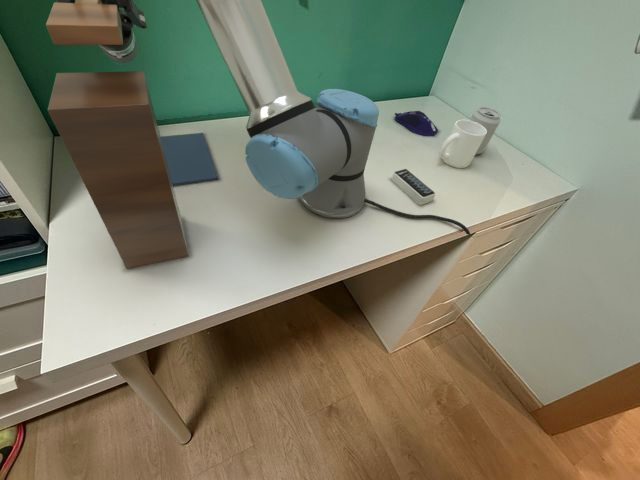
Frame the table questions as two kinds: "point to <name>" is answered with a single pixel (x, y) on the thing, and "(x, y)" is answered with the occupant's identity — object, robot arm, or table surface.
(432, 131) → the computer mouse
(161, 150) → the plinth
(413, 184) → the multiport hub
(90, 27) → the paddle
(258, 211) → the table surface
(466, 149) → the mug
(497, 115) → the can
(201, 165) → the mat
